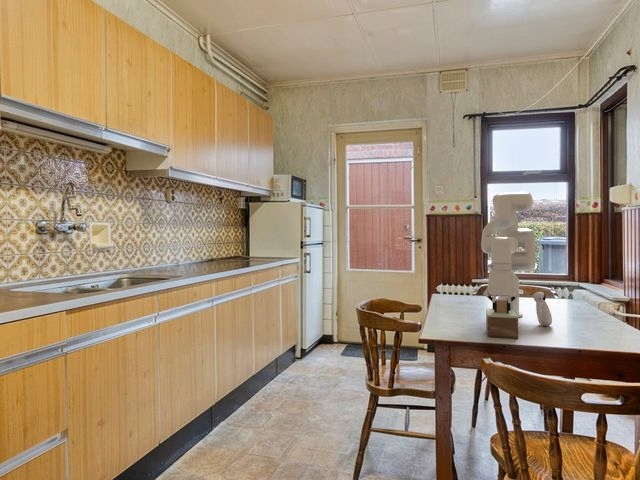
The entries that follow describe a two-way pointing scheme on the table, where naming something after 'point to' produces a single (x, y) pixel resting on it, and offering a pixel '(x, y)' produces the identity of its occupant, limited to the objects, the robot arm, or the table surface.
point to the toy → (542, 309)
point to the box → (502, 327)
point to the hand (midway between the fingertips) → (501, 311)
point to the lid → (501, 310)
